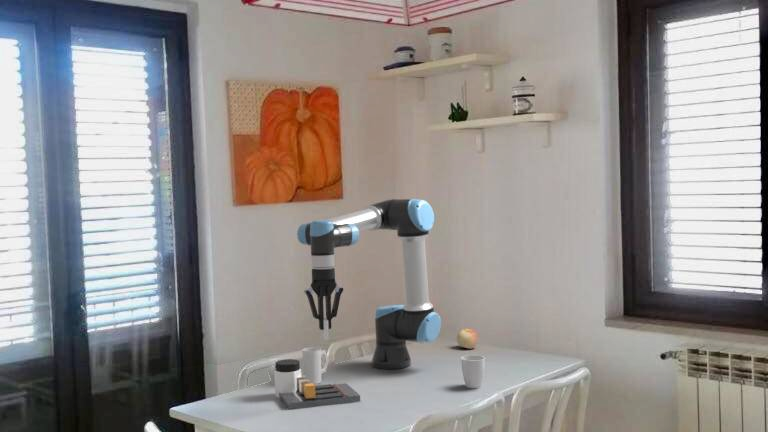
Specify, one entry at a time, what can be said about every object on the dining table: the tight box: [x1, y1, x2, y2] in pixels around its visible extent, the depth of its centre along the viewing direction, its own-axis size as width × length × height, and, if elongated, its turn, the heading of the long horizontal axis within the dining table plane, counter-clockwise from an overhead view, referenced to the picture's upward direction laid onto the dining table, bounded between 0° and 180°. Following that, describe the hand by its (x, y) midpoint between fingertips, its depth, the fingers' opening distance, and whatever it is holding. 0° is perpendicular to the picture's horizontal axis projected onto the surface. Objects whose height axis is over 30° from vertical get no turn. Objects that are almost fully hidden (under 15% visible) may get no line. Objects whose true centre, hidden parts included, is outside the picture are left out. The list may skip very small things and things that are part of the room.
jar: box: [273, 358, 302, 399], centre depth 275 cm, size 9×8×12 cm
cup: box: [460, 354, 486, 389], centre depth 282 cm, size 8×8×10 cm
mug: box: [301, 346, 329, 385], centre depth 293 cm, size 10×7×12 cm, turn 127°
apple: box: [456, 328, 479, 350], centre depth 344 cm, size 9×9×8 cm
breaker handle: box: [304, 383, 316, 399], centre depth 263 cm, size 3×3×4 cm
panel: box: [278, 374, 361, 411], centre depth 271 cm, size 24×17×7 cm
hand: (325, 339), depth 267 cm, fingers closed
